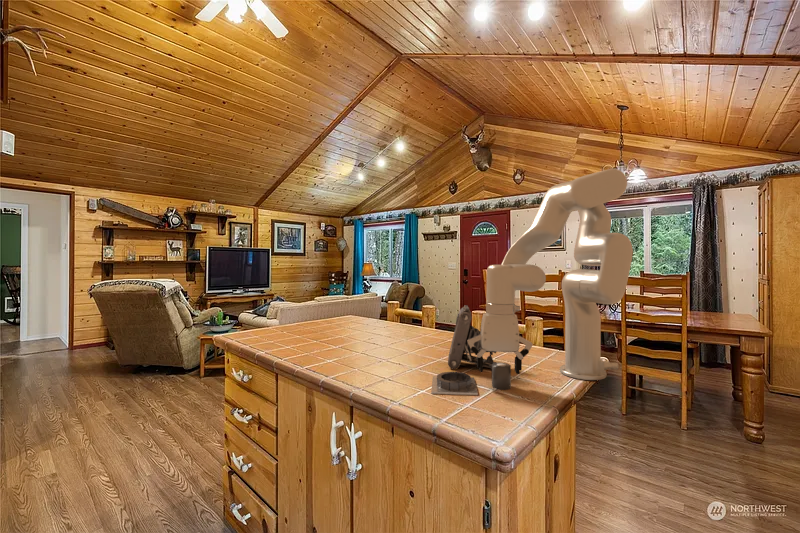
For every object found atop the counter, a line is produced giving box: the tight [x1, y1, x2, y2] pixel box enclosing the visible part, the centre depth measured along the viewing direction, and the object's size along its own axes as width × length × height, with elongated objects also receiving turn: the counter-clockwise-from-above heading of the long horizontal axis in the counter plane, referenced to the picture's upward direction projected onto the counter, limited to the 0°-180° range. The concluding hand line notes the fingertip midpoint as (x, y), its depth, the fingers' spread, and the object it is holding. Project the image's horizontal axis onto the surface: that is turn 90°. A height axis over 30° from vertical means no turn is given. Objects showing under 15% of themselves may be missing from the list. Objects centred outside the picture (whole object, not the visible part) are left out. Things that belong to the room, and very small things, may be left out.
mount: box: [430, 371, 479, 396], centre depth 99 cm, size 12×12×3 cm
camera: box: [447, 304, 497, 370], centre depth 117 cm, size 11×17×20 cm, turn 79°
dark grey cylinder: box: [491, 362, 512, 391], centre depth 98 cm, size 5×5×6 cm
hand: (498, 371), depth 98 cm, fingers open, 9 cm apart
